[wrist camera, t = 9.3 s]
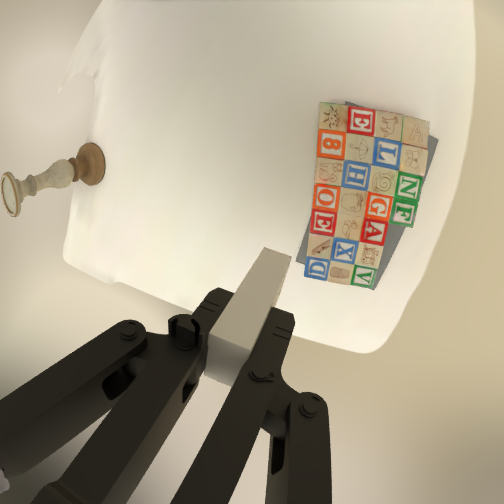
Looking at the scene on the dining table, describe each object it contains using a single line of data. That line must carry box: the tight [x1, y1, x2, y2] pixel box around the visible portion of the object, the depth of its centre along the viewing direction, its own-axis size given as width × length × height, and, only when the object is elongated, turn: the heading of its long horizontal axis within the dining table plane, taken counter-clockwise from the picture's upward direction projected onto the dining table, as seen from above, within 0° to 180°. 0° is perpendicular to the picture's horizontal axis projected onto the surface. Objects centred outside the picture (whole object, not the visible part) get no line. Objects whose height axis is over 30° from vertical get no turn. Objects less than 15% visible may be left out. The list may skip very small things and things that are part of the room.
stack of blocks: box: [304, 102, 429, 289], centre depth 31 cm, size 21×6×12 cm
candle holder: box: [1, 143, 105, 217], centre depth 38 cm, size 9×9×20 cm
